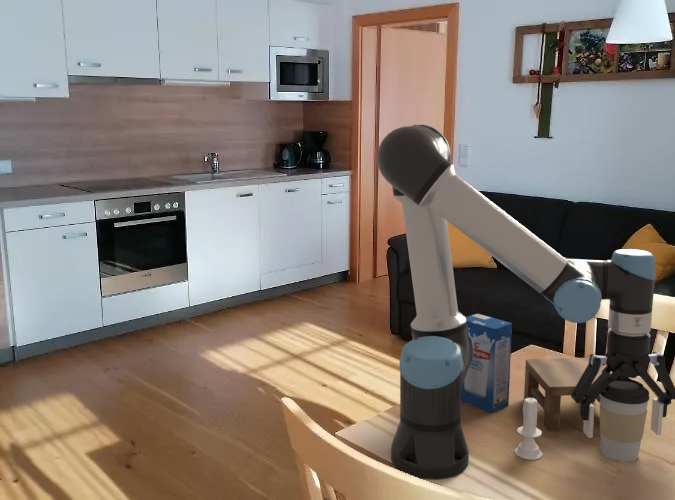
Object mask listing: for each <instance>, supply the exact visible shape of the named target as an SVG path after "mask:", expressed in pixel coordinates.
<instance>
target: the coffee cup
mask: <svg viewBox="0 0 675 500" xmlns="http://www.w3.org/2000/svg"><path fill="white" fill-rule="evenodd" d="M649 401H650V391H649V389H647V388H646V386H644V384H643V383H641V382H640V381H638V380H636V379H635V380H634V379H633V378H629V377H627V378H622V379H620V378H619V377H618V378H617V379H616V380H615V381H613V382H611V383H610V384H609V385H608V386H607V387H606V388H605V389H604V390H603V391H602V393H601V394H600V403H599V433H600V452H601V454H602V455H603V456H605V457H606V458H608V459H611V460H613V461H617V462H624V463H625V462H626V463H627V462H633V461H636V460H637V459H638V458H639V454H640V448H641V442H642V440H643V438H644V431H645V425H646V419H647V414H648V402H649Z"/></svg>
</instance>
